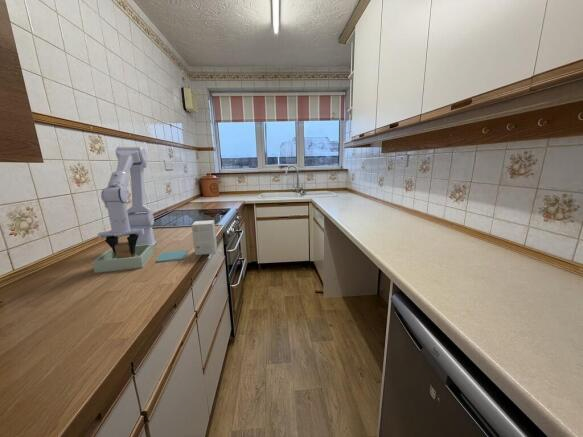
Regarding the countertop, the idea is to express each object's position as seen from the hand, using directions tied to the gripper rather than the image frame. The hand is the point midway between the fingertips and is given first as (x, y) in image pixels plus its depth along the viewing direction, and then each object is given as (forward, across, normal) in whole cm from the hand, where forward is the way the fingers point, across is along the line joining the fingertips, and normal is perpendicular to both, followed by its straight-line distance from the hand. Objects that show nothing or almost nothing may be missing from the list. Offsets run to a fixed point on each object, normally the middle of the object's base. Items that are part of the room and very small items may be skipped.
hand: (125, 254), depth 93 cm
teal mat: (+3, +16, +1) cm, 16 cm away
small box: (+3, +29, +2) cm, 29 cm away
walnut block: (+2, 0, 0) cm, 2 cm away
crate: (+4, 0, 0) cm, 4 cm away
